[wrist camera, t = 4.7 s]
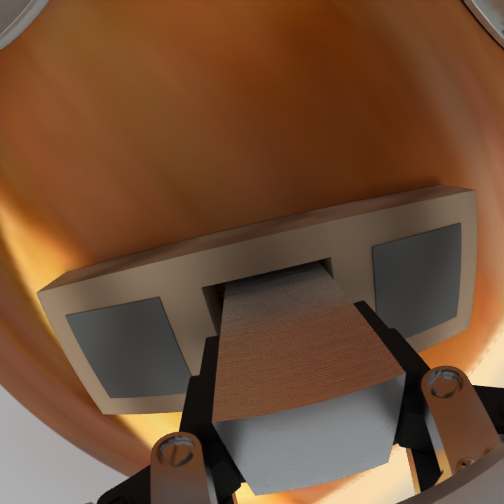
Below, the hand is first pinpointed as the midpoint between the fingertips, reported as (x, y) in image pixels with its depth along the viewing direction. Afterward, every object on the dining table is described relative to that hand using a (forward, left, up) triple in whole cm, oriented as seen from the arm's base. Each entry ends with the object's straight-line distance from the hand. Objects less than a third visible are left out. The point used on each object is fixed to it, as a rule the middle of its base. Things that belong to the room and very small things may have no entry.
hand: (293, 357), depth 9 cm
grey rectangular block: (0, 0, -5) cm, 5 cm away
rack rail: (0, 0, -5) cm, 5 cm away
